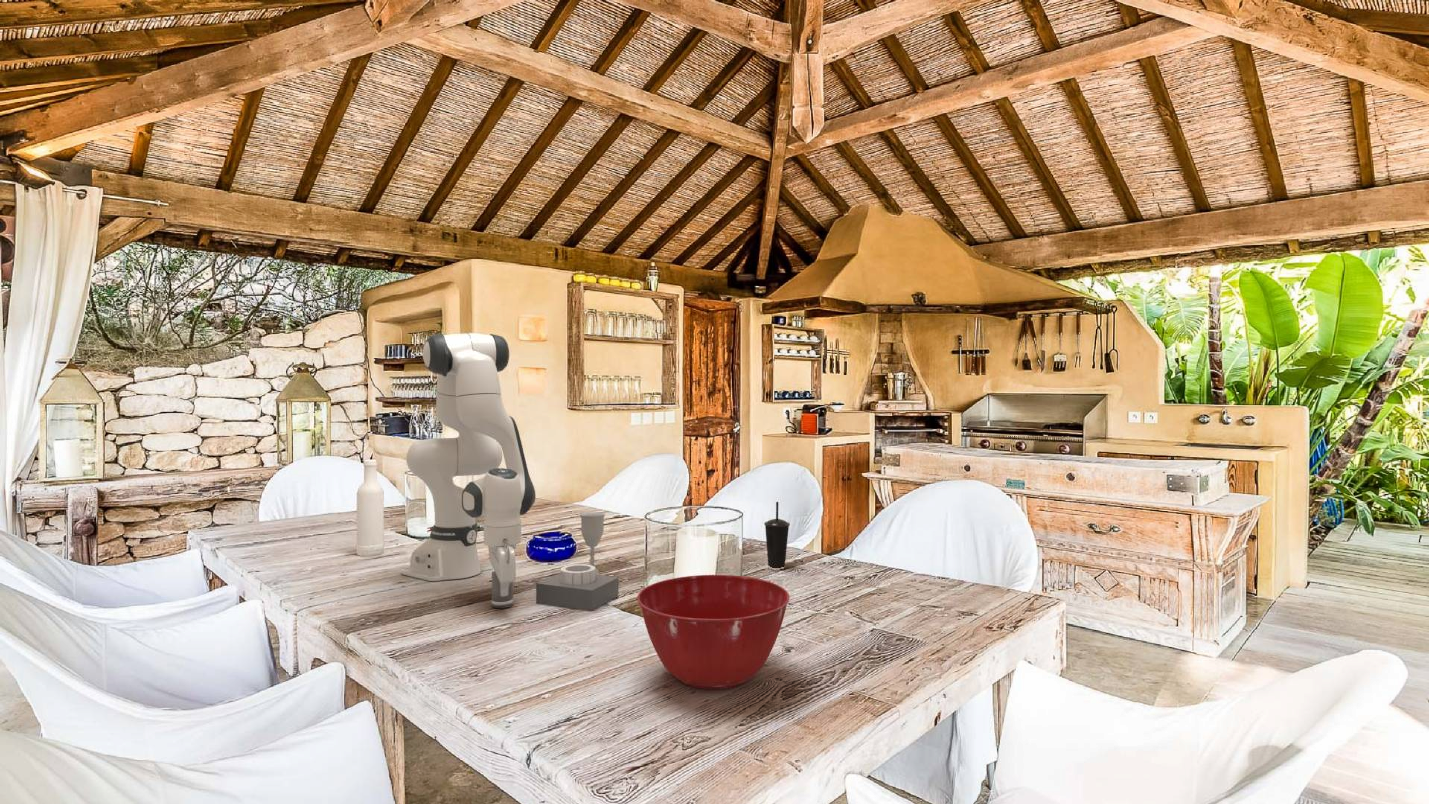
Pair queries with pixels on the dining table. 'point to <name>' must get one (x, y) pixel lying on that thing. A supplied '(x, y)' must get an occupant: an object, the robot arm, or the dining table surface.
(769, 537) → the drinking cup
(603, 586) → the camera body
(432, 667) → the dining table surface
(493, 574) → the lens
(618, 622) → the dining table surface
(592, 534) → the chalice
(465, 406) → the robot arm
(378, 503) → the bottle
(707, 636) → the mixing bowl
